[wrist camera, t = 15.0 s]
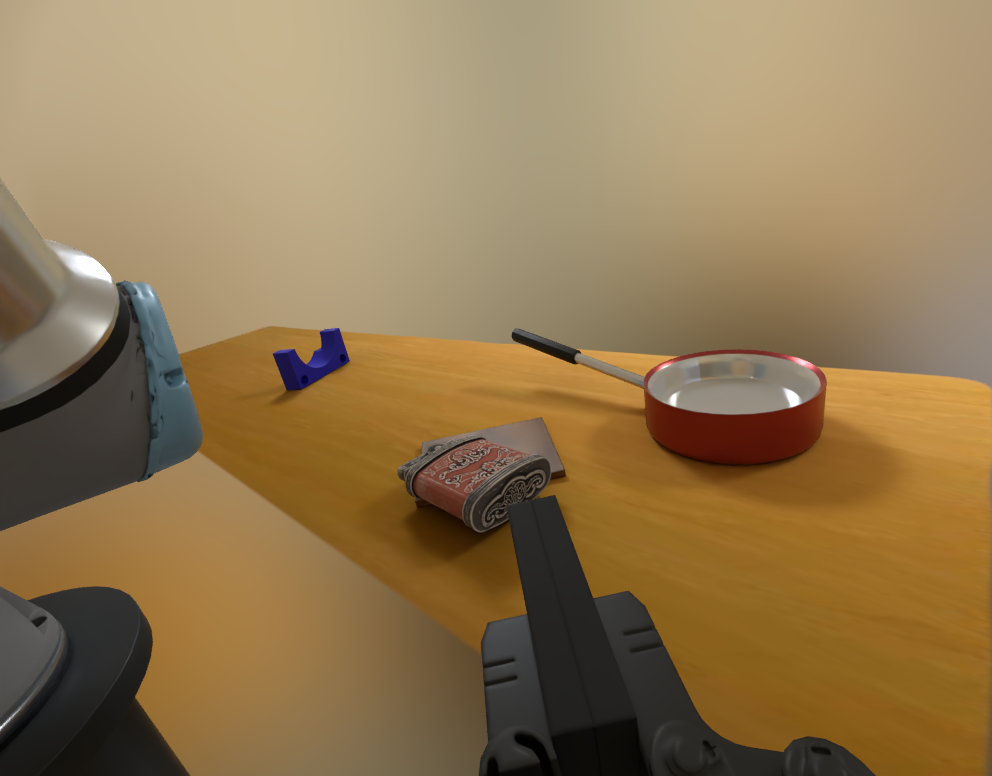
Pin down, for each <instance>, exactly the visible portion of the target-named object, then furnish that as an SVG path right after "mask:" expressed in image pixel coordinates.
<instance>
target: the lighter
mask: <svg viewBox="0 0 992 776" xmlns="http://www.w3.org/2000/svg"><path fill="white" fill-rule="evenodd" d="M398 476H399V478H400V479H401V480H403V481H405V486H406V489H407V492H408V493H409V494H410V495H411V496H413V497H415V498H417V499H420V500H422V499H424V500H426V501H428V502H430V503H431V504H433V505H435V506H437V507H439V508H441V509H443V510H444V511H446V512H448V513H450V514H452V515H454V516H455V517H457V518H459V519H461V520H463V521H464V523H465V524H466V525H467V526H468V527H470V528H471V529H473V530H475V531H477V532H485V531H487V530H489V529H491V528H493V527H495V526H497V525H499V524H501V523H503V522H505V521H506V520H508V519H509V516H508V511H507V506H506V505H511V504H516V503H520V502H525V501H530V500H534V499H535V498H536V497H537V496H538V495H539V494H540V493H541V492H542V491H543V490H544V489H545V488H546V486H547V485H548V483H549V481H550V477H551V464H550V462H549V460H548V459H547V458H545V457H543V456H540V455H537V454H532V455H528V454H525V453H522V452H519V451H516V450H514V449H511V448H508V447H505V446H502V445H499V444H496V443H493V442H490V441H487V440H486V438H484V437H482V436H479V435H471V436H467V437H463V438H460V439H457V440H455V439H452V440H450V441H448V442H446V443H441V444H434V445H431V446H429V447H428V448H427V451H426V453H425V454H423V455H421V456H419V457H417V458H415V459H413V460H411V461H409V462H407V463H405V464H403V465H401V466H400V467H399V468H398Z"/></svg>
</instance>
